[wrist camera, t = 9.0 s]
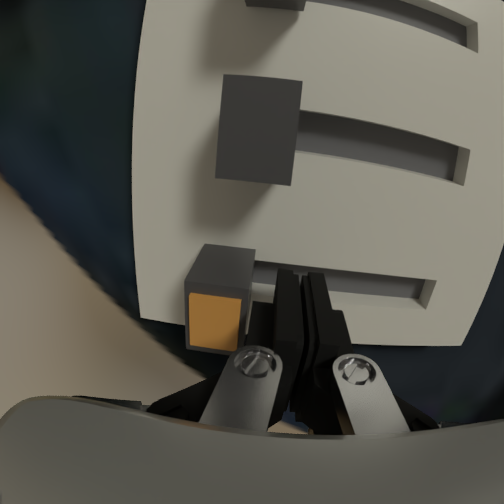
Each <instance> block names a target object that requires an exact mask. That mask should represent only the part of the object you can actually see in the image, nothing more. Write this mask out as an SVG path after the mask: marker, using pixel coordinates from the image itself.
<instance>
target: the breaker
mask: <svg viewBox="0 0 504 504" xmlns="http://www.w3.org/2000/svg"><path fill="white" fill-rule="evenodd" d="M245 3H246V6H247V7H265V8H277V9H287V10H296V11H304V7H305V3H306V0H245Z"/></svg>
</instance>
